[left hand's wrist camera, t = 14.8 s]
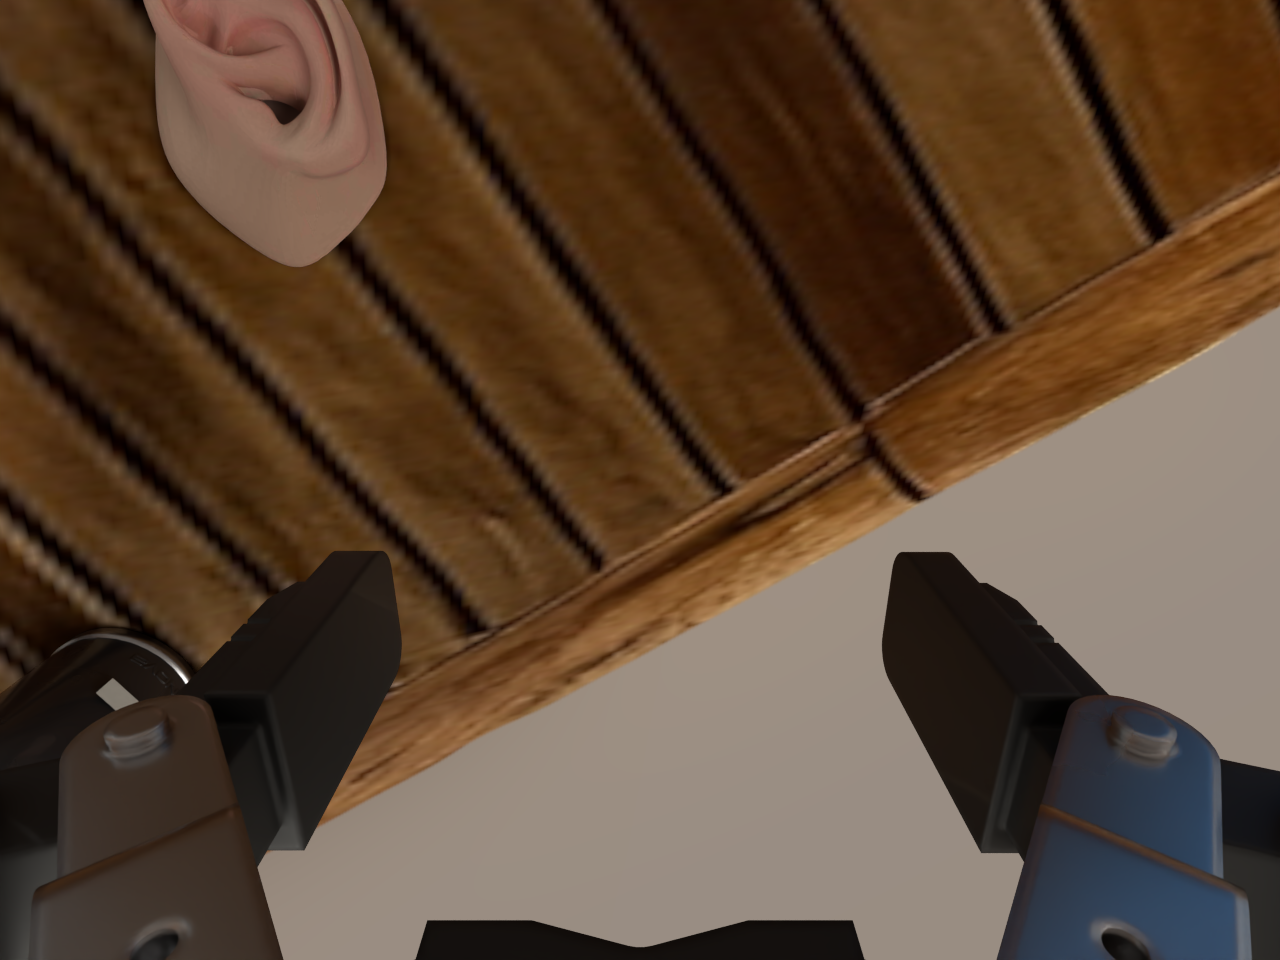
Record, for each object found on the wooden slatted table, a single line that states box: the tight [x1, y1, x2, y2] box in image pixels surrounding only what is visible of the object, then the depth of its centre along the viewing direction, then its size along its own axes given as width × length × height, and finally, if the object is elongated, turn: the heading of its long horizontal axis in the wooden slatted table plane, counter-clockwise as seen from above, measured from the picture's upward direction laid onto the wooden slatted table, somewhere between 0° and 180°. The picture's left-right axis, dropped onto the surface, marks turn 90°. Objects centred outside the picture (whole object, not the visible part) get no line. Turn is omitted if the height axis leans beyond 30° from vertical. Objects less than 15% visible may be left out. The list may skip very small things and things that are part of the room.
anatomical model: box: [143, 0, 387, 267], centre depth 31 cm, size 13×4×12 cm
